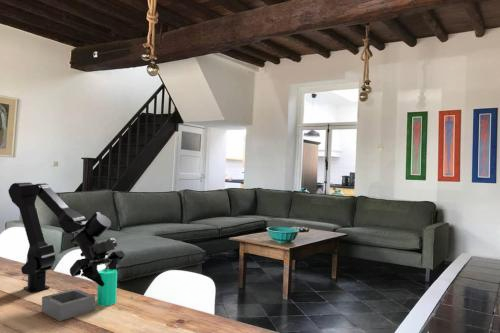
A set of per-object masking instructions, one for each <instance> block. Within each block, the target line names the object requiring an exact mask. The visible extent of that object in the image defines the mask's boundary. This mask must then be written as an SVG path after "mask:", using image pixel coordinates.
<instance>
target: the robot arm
mask: <svg viewBox="0 0 500 333" xmlns="http://www.w3.org/2000/svg"><path fill="white" fill-rule="evenodd" d="M7 190H8V195H9V197H10V200H11V201H12V203H13V204H14V205H15V206H17V208H18V209H19V212H20V216H21V220H22V223H23V226H24V230H25V234H26V238H27V241H28V244H29V248H28V251H27V254H26V256H27V262H26V263H24V265H23V266H22V267H21V273H22V275H27V286H23V290H25V291H27V292H29V293H34V292H39V291H44V290H47V289H50V286H49V285H46V283H47V282H46V278H47V271H48V270H49V271H50V270H52V268H53V265H54V264H55V261H56V256H57V253H56V251H55V248H54V245H53V244H48V242H46V241H45V237H44V233H43V230H42V226H41V223H40V220H39V216H38V212H37V209H36V204H35V203H36V200H37V197H38V198H39V200H41V202H43V203H44V205H45V206H46V207H48V209H49V210H50V211H51V212H52V213H53V214H54V215H55V216H56V218H57V222H58V224H59V226H60V228H61V229H62V231H63V232H64V233H66V234H73V233H76V234H75V235H72V236H71V239H70V242H69V243H70V244H77V245H78V247H79V249H80V250H81V253H80V257H81V258H80V259H77V260H75V262H74V263H73V264H72V265H71V267H70V268H69V273H70V275H71V277H72V278H73V277H77V276H81V277H85V278H87V279H89V280H90V281H91V282H94V283H95V284H97V285H98V284H99V285H100V286H104V282H103V281H102V278H101V276H100V274H99V270H98V266H101V265H104V266H105V267H104V269H112V270H117V271H118V269H117V265H119V264H120V262H121V261H122V260H123V259H124V258H125V257H126V254H125V253H124V251H123V250H121V249H120V250H115V248H116V247H117V246H118V243H117V242H118V241H117V240H116V239H115V238H114V237H110V238H109V239H107V240H104V241H98V240H97V239H96V238H100V237H101V236H102V235H103V234H104V233H106V231H107V230H108V229H109V228H110V227H111V225H112V221H111V219H110V218H109V217H107V216H106V215H104V214H102V213H101V212H100V211H97V212H94V213H93V214H92V216H91V217H90V218H89V219H87V218H86V217H85V216H84V215H83V214H81V213H80V212H78V211H76V210H73V209H72V208H70V207H69V206H68V205H67V204H66V203H65V202H64V200H63V199H61V198H60V197H59V195H58V194H57V193H56V192H55V191H54V190H53V189H52V188H51V185H49V184H48V183H44V182H43V183H42V182H41V183H35V184H34V183H32V182H14V183H12V184H11V185H10V186H9V188H8V189H7ZM112 250H113V251H112ZM114 250H115V251H114ZM110 251H112V252H111V253H110V255H108V254H109V252H110ZM82 257H83V258H82ZM118 276H119V275H117V282H118V281H119V277H118Z"/></svg>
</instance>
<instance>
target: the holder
mask: <svg viewBox="0 0 500 333" xmlns="http://www.w3.org/2000/svg"><path fill="white" fill-rule="evenodd" d="M95 303H96V295H93V294H91V293H88V292H86V291H83V290H81V289H78V288H73V289H69V290H65V291H61V292H57V293H53V294H48V295H44V296H42V297H41V313H43V314H46V315H47V316H49V317H51V318H53V319H55V320H56V321H59V322H62V321H65V320H68V319H72V318H75V317H78V316H82V315H84V314H88V313H92V312H94V311H95V310H96V308H95V306H96V304H95Z"/></svg>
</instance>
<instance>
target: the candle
mask: <svg viewBox="0 0 500 333" xmlns="http://www.w3.org/2000/svg"><path fill="white" fill-rule="evenodd" d="M98 272H99V274H100V276H101V278H102V281H103V282H104V286H100V285H99V284H97V289H96V290H97V291H96V292H97V293H96V304H97V305H98V306H103V307H104V306H105V307H107V306H112V305H114V304H116V303H117V288H118V281H117V276H118V269H117V270H112V269H105V268H104V269H99V270H98Z"/></svg>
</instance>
